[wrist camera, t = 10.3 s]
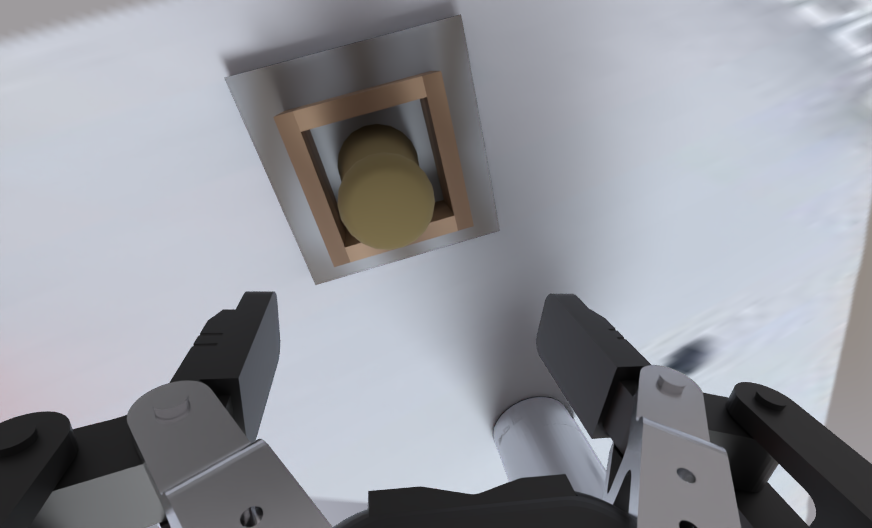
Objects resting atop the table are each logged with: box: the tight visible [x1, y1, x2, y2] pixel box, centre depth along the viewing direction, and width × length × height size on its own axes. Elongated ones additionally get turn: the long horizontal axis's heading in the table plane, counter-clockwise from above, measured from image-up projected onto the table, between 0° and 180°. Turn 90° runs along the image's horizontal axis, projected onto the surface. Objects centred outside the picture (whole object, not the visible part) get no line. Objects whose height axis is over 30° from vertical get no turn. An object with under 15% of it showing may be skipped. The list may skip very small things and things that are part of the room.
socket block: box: [225, 15, 500, 285], centre depth 29 cm, size 16×16×6 cm
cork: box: [337, 124, 435, 250], centre depth 25 cm, size 6×6×11 cm
